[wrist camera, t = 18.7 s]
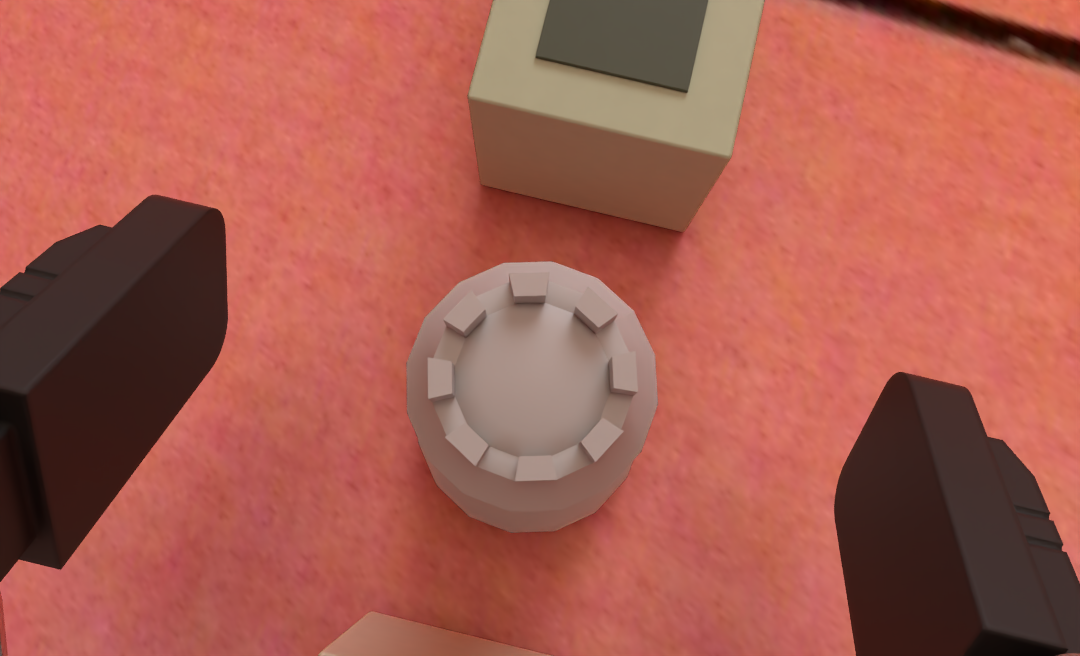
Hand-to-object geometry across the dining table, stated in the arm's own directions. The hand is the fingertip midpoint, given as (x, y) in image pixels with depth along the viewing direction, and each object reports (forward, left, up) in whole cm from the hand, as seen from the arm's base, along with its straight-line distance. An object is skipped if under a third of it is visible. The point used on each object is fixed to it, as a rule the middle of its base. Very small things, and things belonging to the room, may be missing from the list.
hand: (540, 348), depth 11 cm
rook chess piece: (0, 0, -8) cm, 8 cm away
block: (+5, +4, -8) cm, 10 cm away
